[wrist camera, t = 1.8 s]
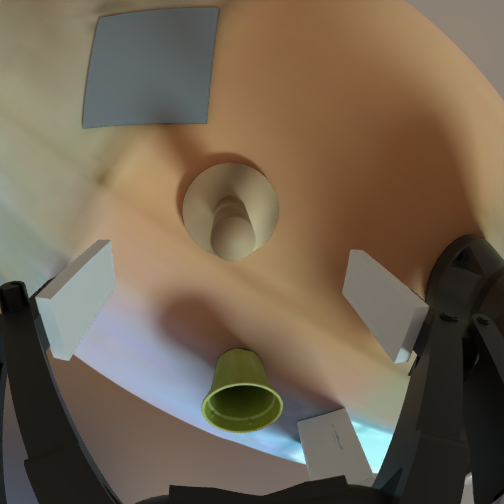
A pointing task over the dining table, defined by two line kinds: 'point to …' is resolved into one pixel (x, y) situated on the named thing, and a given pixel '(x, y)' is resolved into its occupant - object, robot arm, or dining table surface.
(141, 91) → the mat
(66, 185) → the dining table surface
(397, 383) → the dining table surface
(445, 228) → the dining table surface
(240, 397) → the plant pot
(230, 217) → the beige disc-based post
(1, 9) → the dining table surface
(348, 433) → the tall white carton
